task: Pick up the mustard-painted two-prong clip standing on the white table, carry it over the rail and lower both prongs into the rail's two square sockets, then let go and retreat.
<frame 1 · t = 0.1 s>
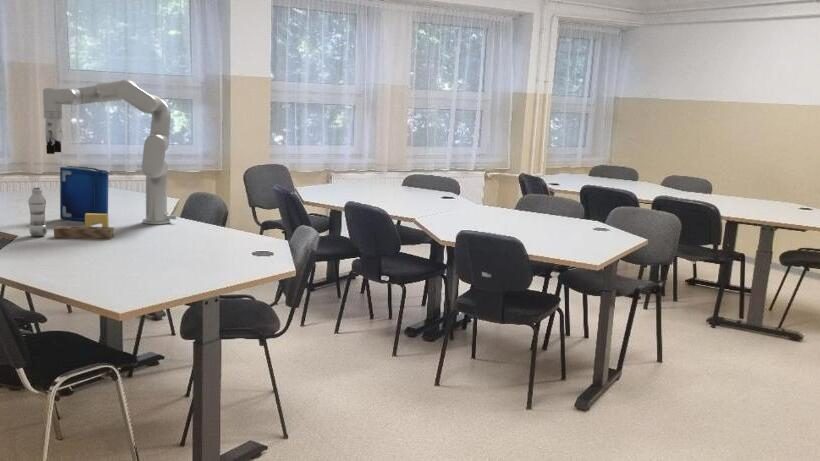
hand: (54, 153, 331), 31 cm above the table, fingers open, 9 cm apart
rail: (84, 237, 301), on the table
plastic bottle: (38, 236, 298), on the table
clip: (97, 232, 313), on the table
book: (85, 221, 339), on the table
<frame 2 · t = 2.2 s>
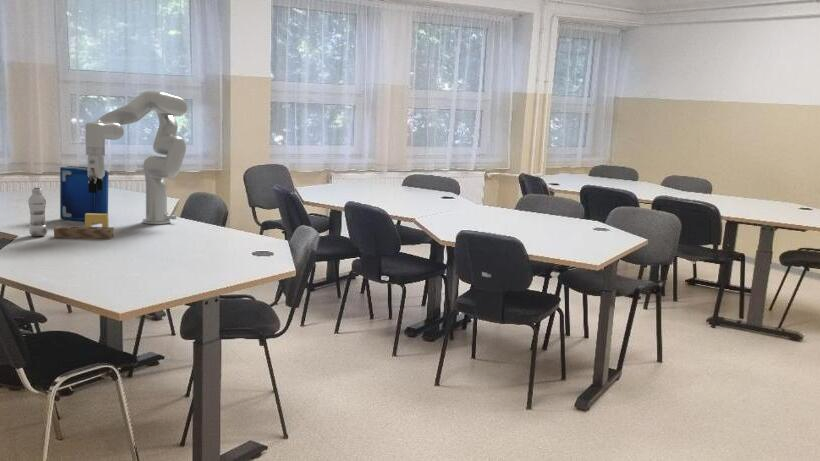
hand: (95, 191, 310), 18 cm above the table, fingers open, 9 cm apart
nothing on the table moved.
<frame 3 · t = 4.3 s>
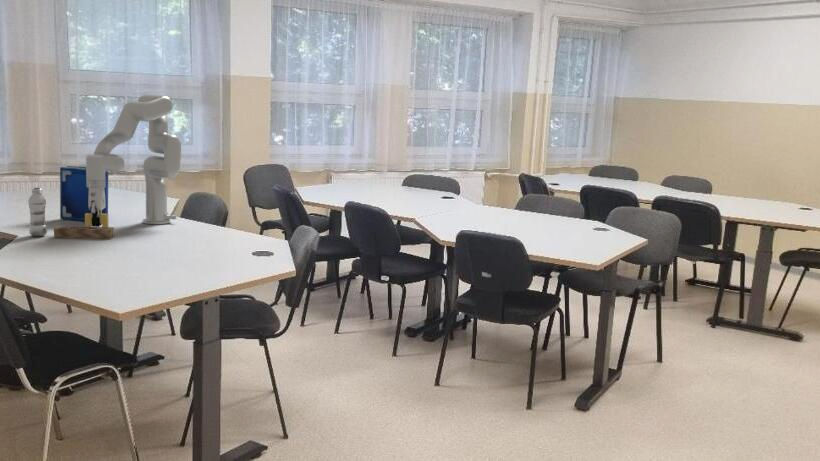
hand: (96, 225, 313), 3 cm above the table, fingers closed on clip, 2 cm apart
clip: (96, 232, 313), on the table, touching gripper
everything else where it was.
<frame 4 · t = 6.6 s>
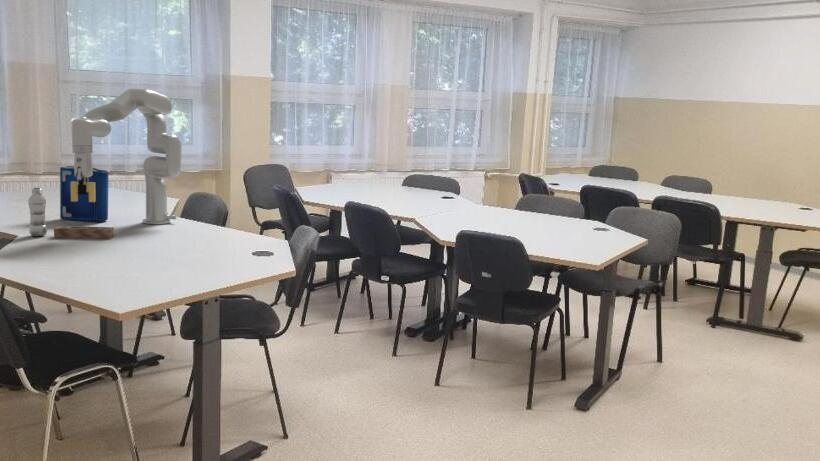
hand: (83, 193, 298), 18 cm above the table, fingers closed on clip, 2 cm apart
clip: (83, 201, 299), point 15 cm above the table, touching gripper
everything else where it was.
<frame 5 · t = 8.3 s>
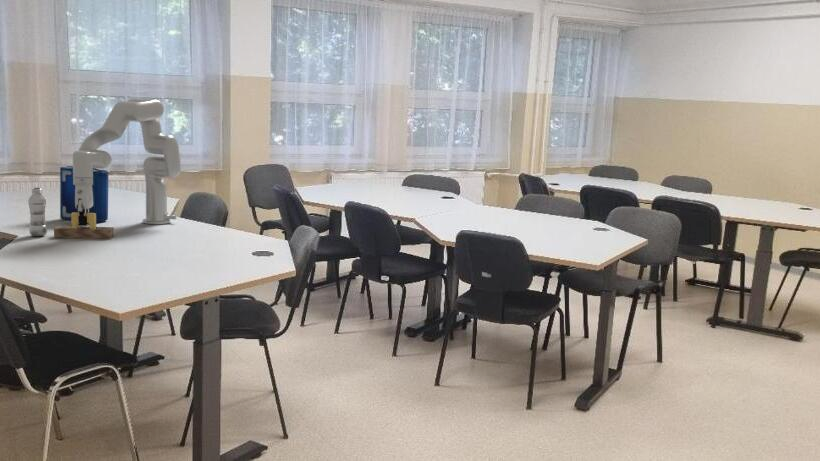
hand: (83, 224, 300), 5 cm above the table, fingers closed on clip, 2 cm apart
clip: (84, 232, 301), point 2 cm above the table, touching gripper
everything else where it was.
when the fingers open (4 cm above the table, at t = 9.3 s): clip stays where it is, resting on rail.
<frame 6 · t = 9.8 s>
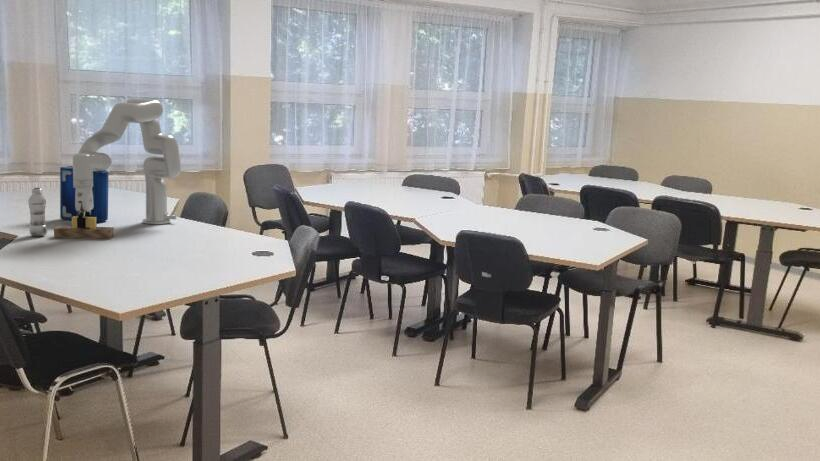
hand: (84, 225, 301), 5 cm above the table, fingers open, 7 cm apart
clip: (84, 236, 301), resting on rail
everything else where it was.
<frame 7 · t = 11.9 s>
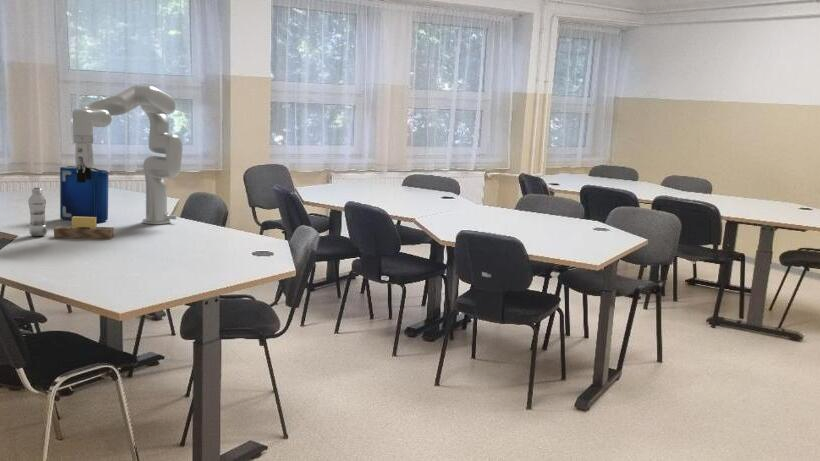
hand: (84, 180, 300), 23 cm above the table, fingers open, 9 cm apart
nothing on the table moved.
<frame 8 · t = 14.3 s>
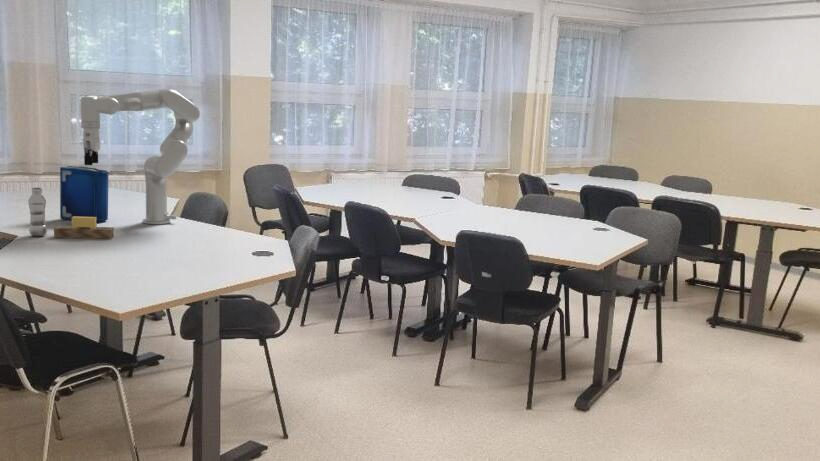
hand: (91, 164, 320), 28 cm above the table, fingers open, 9 cm apart
nothing on the table moved.
at the end: clip 0.0 cm off-centre on the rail, point 0.5 cm above the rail's base; clip tilted 0°; the gripper is holding nothing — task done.
